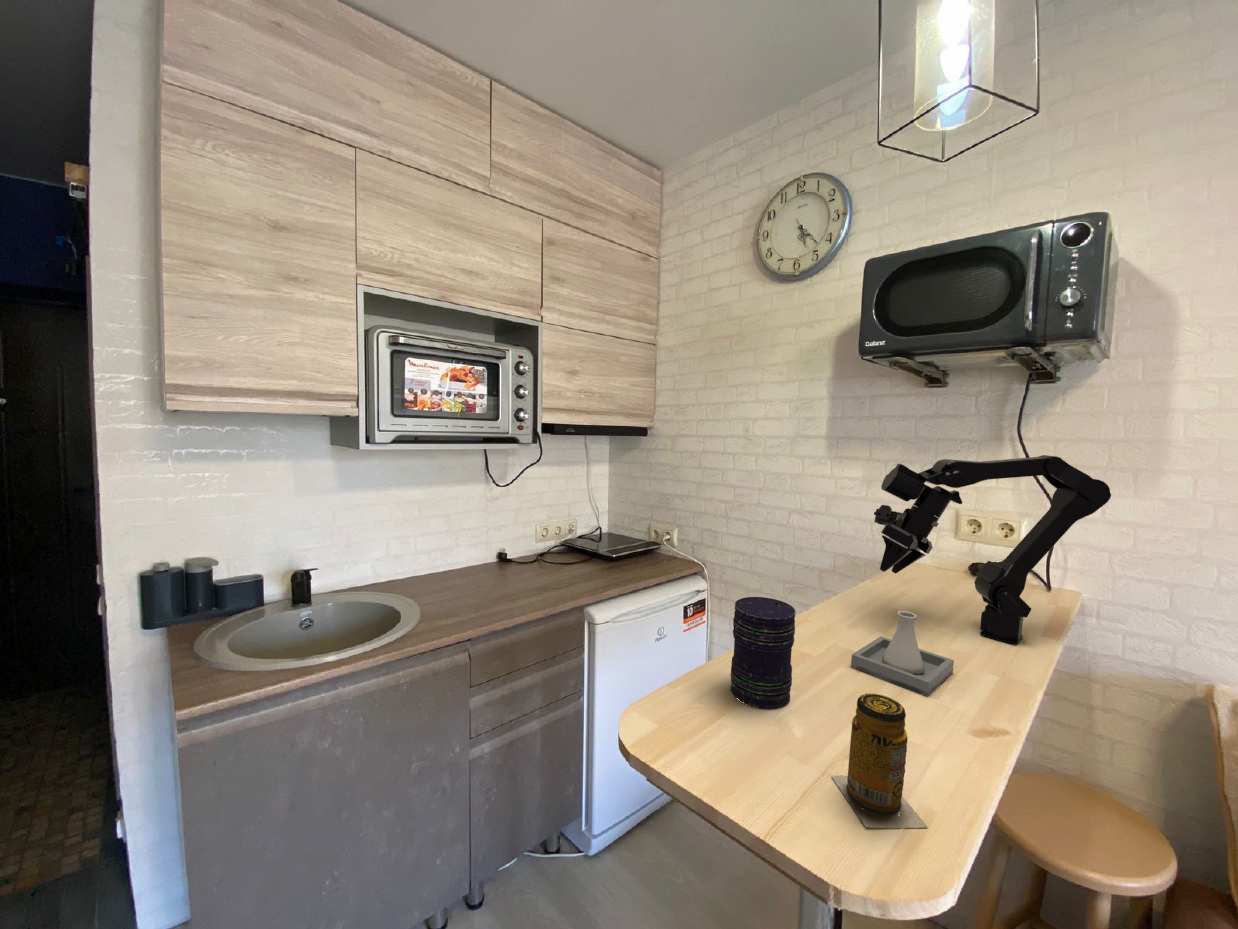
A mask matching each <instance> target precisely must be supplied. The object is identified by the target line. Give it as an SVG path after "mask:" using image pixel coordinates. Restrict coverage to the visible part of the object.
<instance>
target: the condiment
mask: <svg viewBox="0 0 1238 929" xmlns="http://www.w3.org/2000/svg"><path fill="white" fill-rule="evenodd" d="M906 715H907V714H906V710H905V708H904V706H903V705H902V704H901V703H899V702H898V701H896V700H895V699H894V698H892V697H888V696H887V695H882V694H878V693H864V694H861V695H860V696H859V697H858V698H857V701H856V709H855V715H854V716H853V718H852V721H851V730H850V731H851V732H850V743H849V754H848V755H849V756H848V768H847V775H831V778H832V779H833V781H834V782H835V784H836V786H837V788H839V790H840V792H841V793H842V795H843V796H844V798H845V799H846V800H847V803H849V804H850V805H851V808H852V809H853V810H854V813H855V814H856V815H857V817H858V818H859V819H860V820H861V822H862V823H863V825H864V827H865V828H873V829H901V830H903V829H919V828H922V829H923V828H928V825H927V824H926V823H925V821H924V820H923V818H921V817H920V815H919V813H918V812H916V811H915V809H914V808H913V807H912V806H911V804H910V803H909V802H908V801H907V800H906V799H905V798H904V797H903V790H904V783H905V773H906V768H905V767H906V764H907V761H906V759H907V758H906V757H907V752H908V733H907V730H906V729H905V727H906Z"/></svg>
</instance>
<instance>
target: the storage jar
mask: <svg viewBox="0 0 1238 929" xmlns="http://www.w3.org/2000/svg"><path fill="white" fill-rule="evenodd" d="M733 616H734V617H733V621H732V622H733V623H732V624H733V625H732V626H733V629H732V636H733V639H734V640H733V641H734V643H733V644H734V645H733V655H732V658H731V666H730V682H731V684H730V692H731V691H732V693H731V695H732V694H733V695H734V696H735V697H736V698H738V699H739V700H740V701H741V702H744V703H745V704H747V705H750V706H751V708H753V707H754V709H757V708H759V709H758V710H764V711H765V710H766V711H771V710H779V709H783V708H785V707H787V706H788V705H789V703H790V701H791V694H790V693H791V690H792V689H791V687H792V684H793V676H792V675H793V666H792V663H791V662H792V650H793V646H794V642H795V633H796V625H795V624H796V620H795V619H796V609H795V608H794V606H793V605H791V604H789V603H787V602H785V601H783V600H779V599H776V598H769V597H763V596H748V597H742V598H739V599H737V600H736V601H735V603H734V612H733ZM733 695H732V696H733ZM734 696H733V697H734ZM735 697H734V698H735ZM736 698H735V699H736ZM740 701H739V702H740ZM741 702H740V703H741ZM745 704H744V705H745ZM747 705H746V706H747ZM750 706H749V707H750Z"/></svg>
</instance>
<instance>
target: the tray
mask: <svg viewBox="0 0 1238 929" xmlns="http://www.w3.org/2000/svg"><path fill="white" fill-rule="evenodd" d="M891 640H892V638H891V639H890V638H887V637H884V636H879V637H877V638H875V639H874V640H872V641H871V642H870V643H868V644H866V645H864V646H863V647H861V648H860V649H858V650H856V651H855V652H853V653H852V654H851V660H850V668H852V669H854V670H857V671H859V672H862V673H865V674H867V675H870V676H872V677H875V678H877V679H881V680H882V681H885V682H888V683H890V684H893V685H896V686H898V687H901V688H903V689H906V690H909V691H911V692H914V693H917V694H919V695H921V696H925V697H926V698H928V697H929V696H930V695H931V694H933V693H934V692H935V691H936V690H937V689H938V688H939V687H940V686H941V685H942V684H943V683H944V682H945V681H946V680H947V679H948V678H950V677H951V675H952V674H953V673H954V664H955V663H954V662H955V659H951V658H949V657H946V656H942V655H939V654H937V653H933V652H931V651H928V650H924V649H921V648H919V651H920V654H921V658H922V661H923V664H924V673H923V674H911V673H908V672H905V671H903V670H900V669H897V668H894V667H891V666H889V665H886V664H884V663H882V658H883V655H884V653H885V651H886V649H887V647H888V646H889V644H890V642H891Z"/></svg>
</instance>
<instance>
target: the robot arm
mask: <svg viewBox="0 0 1238 929" xmlns="http://www.w3.org/2000/svg"><path fill="white" fill-rule="evenodd" d="M1036 476H1037V477H1038V476H1042V477H1043V479H1045V480H1046V481H1047V483H1049V485H1051V486H1052V487H1054V489H1055V490H1054V493H1053V494H1052V498H1051V503H1050V507H1049V508H1048V510H1047V511H1046V512H1045V514H1043V516H1042V517H1041V518H1040V519H1039V520H1038V522H1037V523H1035V525H1034V526H1032V528H1031V529H1030V530H1029V532H1027V534H1026V535H1024V537H1023V538H1022V540H1020V542H1018V544H1017V545H1016V546H1015V547H1014V549H1012V551H1010V553H1009V554H1008V555H1007V556H1006V557H1005V558H1004V559H1003V560H1001V561H998V562H997V563H994V562H993V561H991V560H987V561H986V563H985V564H984V565H983V567H982V568H981V569H980V570H979V571H977V572H976V573H975V575H976V578H975V579H974V583H973V584H974V588H975V590H976V592H977V593H978V594H979V595H981V598H982V602H984V603H986V604H987V605H986V606H985V608H984V610H983V611H982V612H981V614H980V615H981V616H980V625H979V630H980V636H982V637H986V638H989V639H993V640H996V641H1000V642H1004V643H1006V644H1007V643H1008V644H1010V645H1012V646H1013V645H1014V646H1016V645H1018V644H1020V642H1021V641H1022V639H1024V635H1023V633H1022V632H1023V622H1024V618H1028V617H1029V615H1030V613H1031V612H1032V607H1030V606H1029V605H1028V603H1026V601H1024V600H1023V598H1022V597H1021V595H1022V593H1023V592H1024V590H1025V587H1026V582H1027V579H1028V578H1027V577H1028V575H1029V574H1030V572H1031V571H1032V570H1033V569H1034V568H1035V567H1036V566H1037V565H1038V564H1039V562H1040V561H1041V560H1042V559H1043V558H1044V557H1045V556H1046V555H1047V554H1048V552H1049V551H1051V549H1053V547H1054V546H1055V545H1056V544H1057V543H1058V542H1059V540H1060V539H1062V537H1063V536H1064V535H1065V534H1066V533H1067V532H1068V530H1069V529H1071V527H1073V525H1074V524H1075V523H1077V522H1078V521H1079V520H1082V519H1085V518H1086V517H1088V516H1091V515H1092V514H1094V513H1096V512H1097V511H1099V509H1101V508H1102V507H1103V506H1105V505H1107V503H1108V502H1109V501H1110V499H1111V497H1112V493H1111V488H1110V487H1109V485H1108V484H1107V483H1106V482H1105V481H1104V480H1101V479H1096V478H1092V476H1090V475H1089V474H1087V473H1086V472H1084V471H1081V470H1080V469H1078V468H1076V467H1074V466H1072V465H1070V464H1069V463H1068V462H1067V461H1065V460H1064V459H1063V458H1061V457H1059V456H1058V455H1057V456H1056V455H1045V454H1042V455H1039V456H1033V457H1031V456H1030V457H1022V458H1021V457H1019V458H1008V459H996V460H987V461H986V460H983V461H976V460H965V459H962V460H961V459H948V458H947V459H946V458H942V459H939V460H937V461H936V462H935V463H934V464H933V465H932V467H930V468H928V469H925V470H923V471H921V472H916V471H914V470H912V469H910V468H909V467H908V466H906V465H904V464H902V463H897V464H896V466H895V467H894V468H892V469H891V470H890V471H889V473H888V474H886V475H885V477H884V478H883V480H882V483H881V490H882V491H884V492H886V493H889V495H892V496H894V497H896V498H898V499H899V500H902V501H904V502H910V501H911V500H913V501H914V502H913V504H912V505H911V507H910V508H909V507H907V508H905V509H904V510H903V512H898V511H893V509H892V506H890V505H886V504H881V505H880V507H878V508H876V510H875V511H874V513H873V515H874V516H875V517H874V523H875V524H878V525H882V526H884V527H883V528H882V530H881V532H880V533H881V534H883V535H881V538H882V539H883V542H884V544H885V548H884V552H883V555H882V560H881V562H880V566H879V570H881V571H882V572H885V573H886V572H887V571H888V570H889V569H891V572H892V573H894V574H897V573H899V572H901V571H903V570H904V569H906V568H907V567H909V566H910V565H912V564H913V563H915V562H917V561H919V560H920V559H922V558H923V557H925V556H926V554H927V555H929V554H930V552H931V551H932V549H933V548H934V547H933V544H932V541H931V540H929V539H928V537H929V536H930V534H931V532H932V531H933V529H934V527H935V528H937V527H938V525H939V522H938V521H939V520H940V518H941V516H942V515H943V513H944V512H945V510H946V509H947V507H948V506H949V504H950V502H952V503H955V504H959V505H963V501H962V498H961V496H960V491H958V490H955V489H958V488H963V487H967V486H968V487H969V486H971V485H975V484H978V483H981V482H984V481H987V480H1001V479H1011V478H1025V477H1027V478H1028V477H1036ZM926 483H928V484H932V485H935V486H934V487H931V486H929V485H927V484H926ZM940 485H941V486H940ZM942 486H946V487H949V488H953V489H954V490H948V489H946V488H944V487H942Z"/></svg>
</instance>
